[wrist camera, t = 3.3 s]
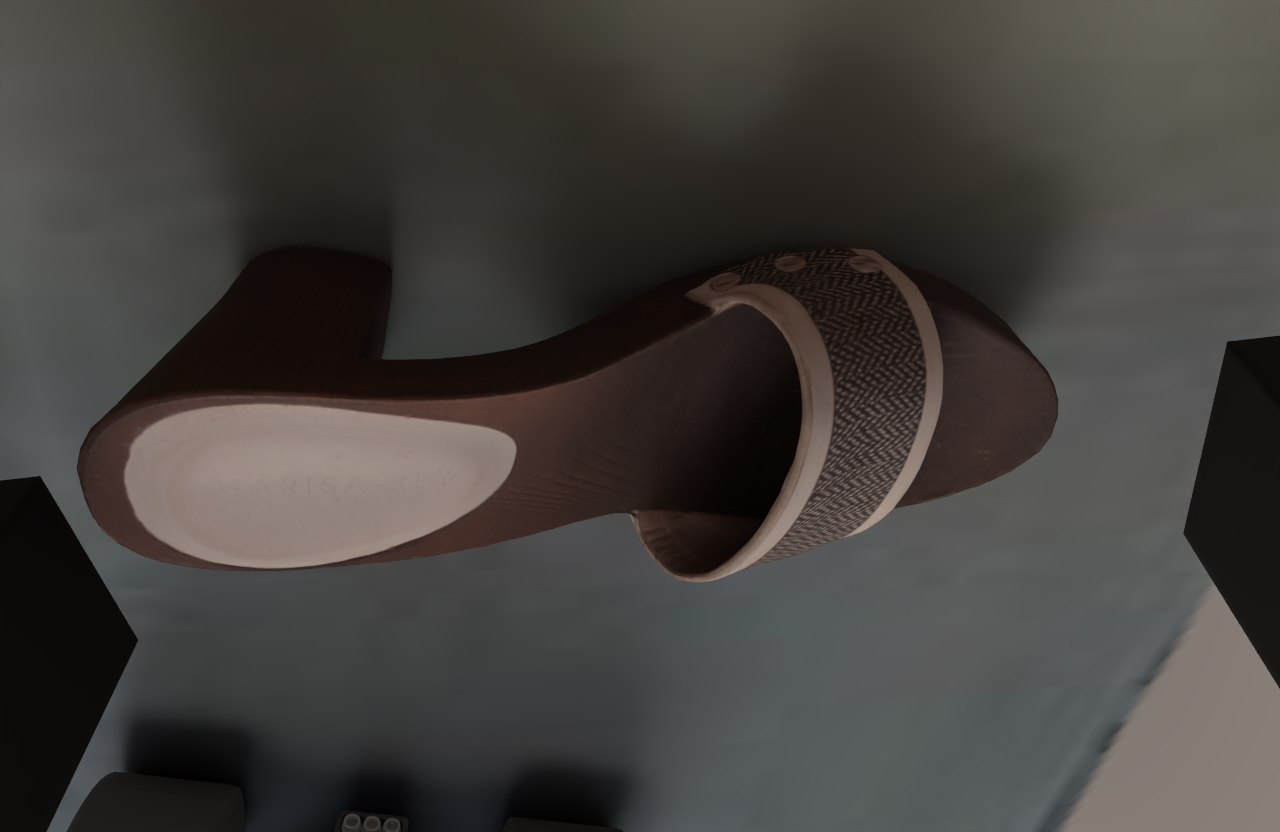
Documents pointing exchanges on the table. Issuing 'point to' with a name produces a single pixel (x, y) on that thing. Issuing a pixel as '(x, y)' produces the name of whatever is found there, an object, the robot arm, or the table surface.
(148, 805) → the toy race car
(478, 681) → the table surface
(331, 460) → the heeled mule
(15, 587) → the robot arm
